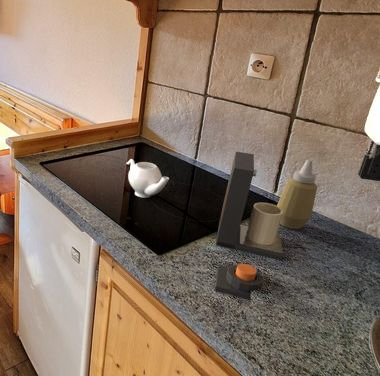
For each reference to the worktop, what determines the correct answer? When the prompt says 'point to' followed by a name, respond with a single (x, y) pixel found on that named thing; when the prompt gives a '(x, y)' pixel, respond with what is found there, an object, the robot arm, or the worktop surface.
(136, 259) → the worktop surface
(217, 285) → the dark grey button base
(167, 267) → the worktop surface
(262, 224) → the cup
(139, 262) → the worktop surface
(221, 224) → the coffee maker
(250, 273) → the button
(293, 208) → the squeeze bottle
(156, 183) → the teapot
